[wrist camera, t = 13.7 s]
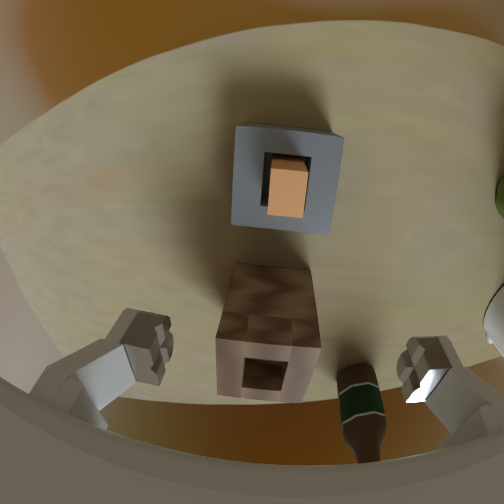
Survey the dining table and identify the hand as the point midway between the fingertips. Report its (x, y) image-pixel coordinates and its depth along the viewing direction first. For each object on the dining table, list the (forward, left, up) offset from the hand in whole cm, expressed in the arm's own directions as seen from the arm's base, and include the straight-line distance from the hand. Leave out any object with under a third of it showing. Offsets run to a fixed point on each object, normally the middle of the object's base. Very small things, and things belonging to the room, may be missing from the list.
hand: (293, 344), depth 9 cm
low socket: (0, 0, -26) cm, 26 cm away
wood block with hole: (0, +18, -26) cm, 32 cm away
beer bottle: (-18, +35, -27) cm, 47 cm away
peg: (0, 0, -24) cm, 24 cm away
